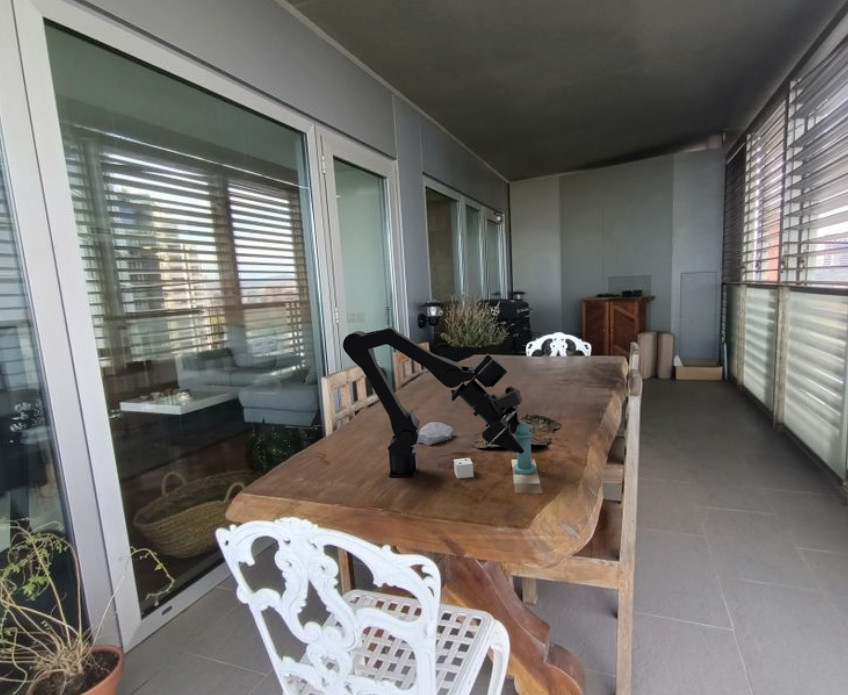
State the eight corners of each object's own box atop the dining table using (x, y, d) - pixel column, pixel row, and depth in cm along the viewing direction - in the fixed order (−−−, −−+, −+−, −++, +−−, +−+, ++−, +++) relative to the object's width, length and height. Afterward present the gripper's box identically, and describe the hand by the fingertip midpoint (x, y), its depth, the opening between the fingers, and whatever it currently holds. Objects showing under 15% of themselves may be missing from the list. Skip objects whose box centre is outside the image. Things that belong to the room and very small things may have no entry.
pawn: (514, 474, 114) (512, 426, 112) (513, 466, 119) (511, 420, 117) (536, 474, 113) (534, 426, 111) (534, 466, 118) (532, 419, 116)
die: (457, 481, 114) (456, 465, 113) (454, 474, 118) (453, 459, 117) (473, 479, 114) (472, 463, 114) (470, 473, 118) (469, 457, 118)
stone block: (456, 441, 148) (431, 431, 154) (458, 427, 147) (432, 417, 153) (434, 454, 139) (408, 443, 145) (435, 440, 138) (409, 429, 144)
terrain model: (488, 420, 165) (488, 406, 164) (562, 427, 153) (563, 412, 153) (455, 449, 137) (455, 432, 136) (542, 460, 126) (542, 443, 125)
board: (514, 495, 104) (514, 492, 104) (511, 461, 124) (511, 459, 123) (542, 495, 103) (542, 492, 103) (534, 461, 123) (534, 459, 123)
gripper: (493, 387, 106) (544, 436, 103) (508, 371, 123) (552, 413, 120) (461, 419, 110) (510, 468, 107) (480, 399, 127) (523, 441, 124)
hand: (525, 445), depth 115 cm, fingers open, 9 cm apart
